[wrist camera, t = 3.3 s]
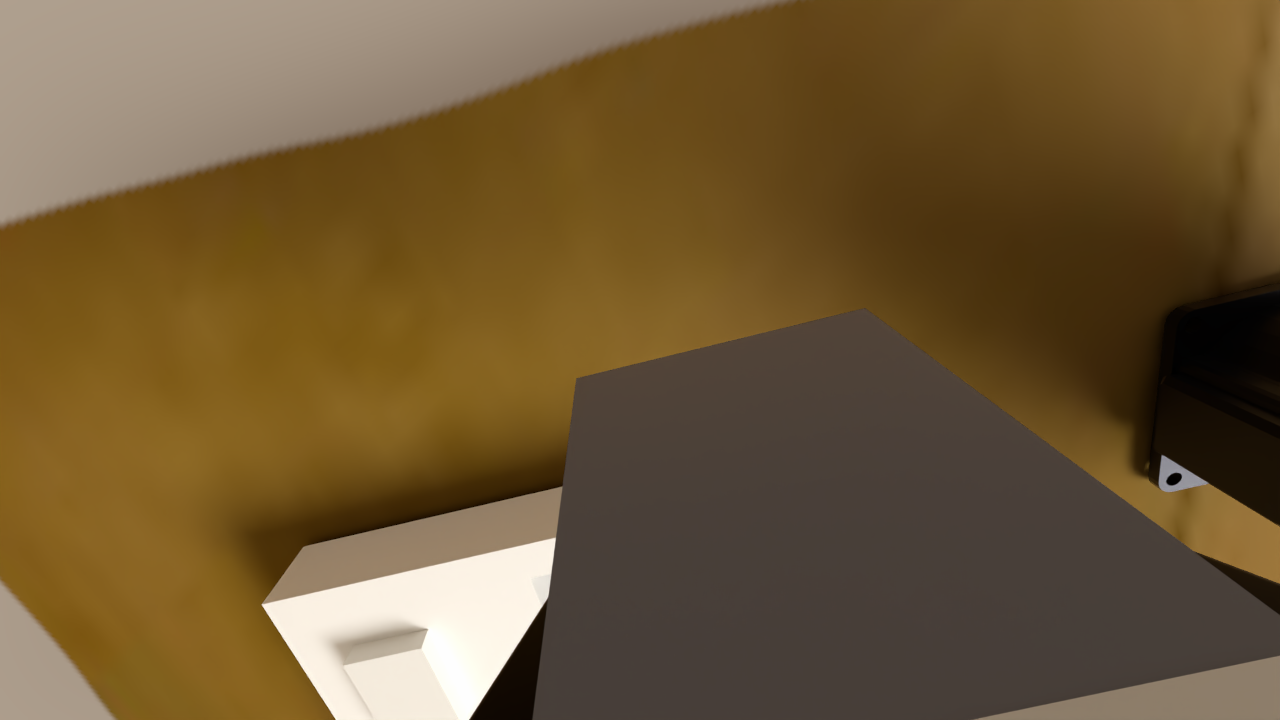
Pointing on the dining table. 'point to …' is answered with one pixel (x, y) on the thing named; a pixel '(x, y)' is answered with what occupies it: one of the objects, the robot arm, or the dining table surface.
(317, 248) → the dining table surface
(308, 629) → the socket plate
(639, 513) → the plug
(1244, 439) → the robot arm
